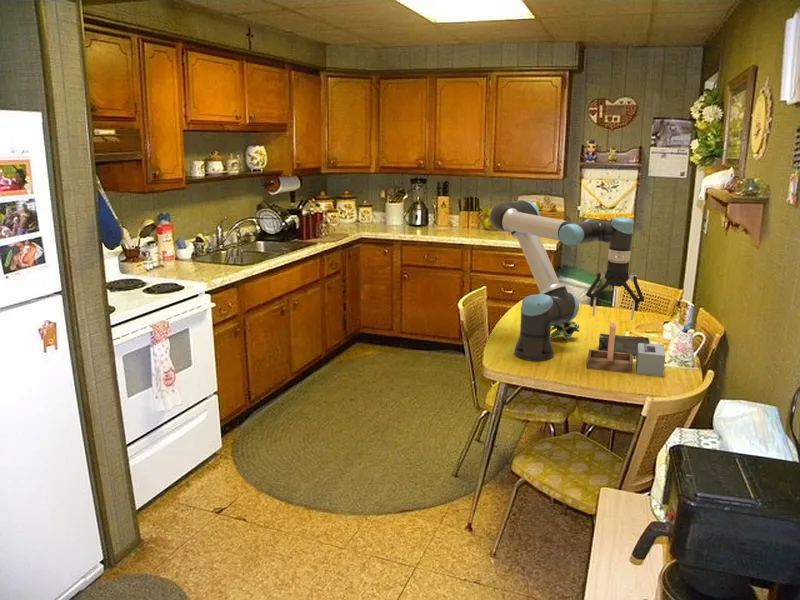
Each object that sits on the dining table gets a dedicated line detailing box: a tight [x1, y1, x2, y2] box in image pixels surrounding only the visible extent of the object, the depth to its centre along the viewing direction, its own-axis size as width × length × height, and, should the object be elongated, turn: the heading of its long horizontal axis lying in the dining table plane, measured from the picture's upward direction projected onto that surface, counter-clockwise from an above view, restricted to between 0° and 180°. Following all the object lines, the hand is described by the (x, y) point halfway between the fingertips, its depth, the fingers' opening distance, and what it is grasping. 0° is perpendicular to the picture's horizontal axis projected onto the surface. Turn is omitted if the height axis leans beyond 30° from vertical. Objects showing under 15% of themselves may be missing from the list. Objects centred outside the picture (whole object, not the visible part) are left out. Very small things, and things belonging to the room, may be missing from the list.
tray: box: [586, 349, 634, 374], centre depth 243 cm, size 16×12×4 cm
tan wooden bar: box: [607, 322, 617, 361], centre depth 241 cm, size 2×6×15 cm, turn 162°
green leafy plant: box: [550, 320, 580, 343], centre depth 272 cm, size 11×11×12 cm
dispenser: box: [635, 343, 666, 378], centre depth 238 cm, size 9×12×9 cm
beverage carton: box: [598, 333, 650, 357], centre depth 258 cm, size 8×19×7 cm, turn 72°
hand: (612, 317), depth 239 cm, fingers open, 13 cm apart
